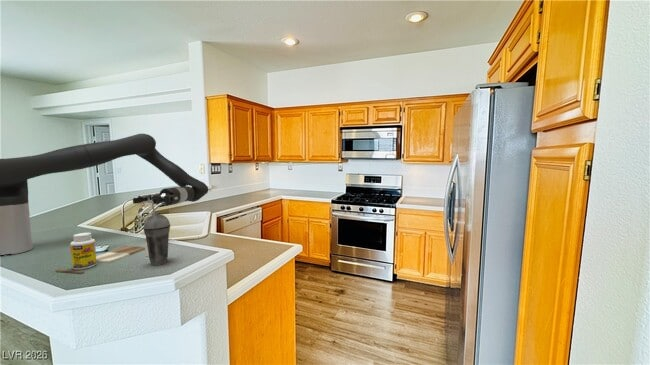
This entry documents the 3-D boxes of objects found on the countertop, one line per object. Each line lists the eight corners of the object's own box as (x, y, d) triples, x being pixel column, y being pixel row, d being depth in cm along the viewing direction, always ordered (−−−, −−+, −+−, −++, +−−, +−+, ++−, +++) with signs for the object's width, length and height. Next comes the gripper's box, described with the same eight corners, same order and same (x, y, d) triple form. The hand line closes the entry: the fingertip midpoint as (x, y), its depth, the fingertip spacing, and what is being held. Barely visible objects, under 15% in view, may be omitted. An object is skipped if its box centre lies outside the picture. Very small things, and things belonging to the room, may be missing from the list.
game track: (55, 271, 77) (55, 269, 77) (125, 247, 100) (125, 245, 100) (81, 273, 76) (81, 271, 76) (146, 248, 98) (146, 247, 98)
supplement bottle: (70, 272, 77) (67, 237, 77) (74, 266, 82) (72, 233, 81) (95, 267, 80) (92, 234, 80) (98, 262, 85) (95, 230, 84)
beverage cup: (177, 260, 86) (174, 199, 85) (156, 268, 80) (153, 202, 78) (160, 257, 89) (157, 198, 87) (139, 265, 82) (135, 201, 80)
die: (145, 256, 90) (144, 243, 90) (150, 252, 94) (150, 240, 94) (158, 255, 91) (157, 243, 90) (163, 251, 95) (162, 239, 94)
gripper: (159, 187, 119) (126, 191, 103) (187, 187, 116) (159, 191, 100) (160, 203, 119) (127, 210, 103) (188, 204, 117) (160, 211, 101)
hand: (143, 201), depth 102 cm, fingers open, 8 cm apart
